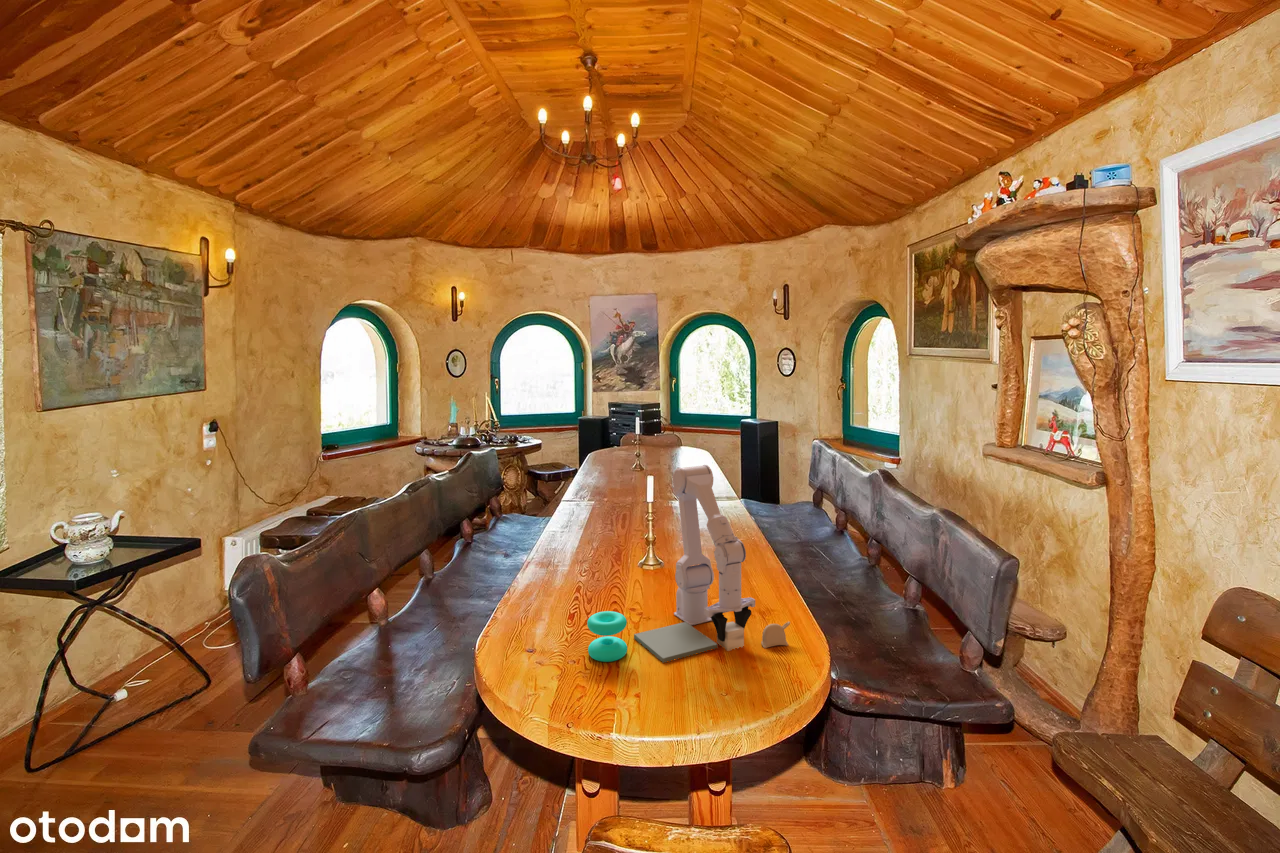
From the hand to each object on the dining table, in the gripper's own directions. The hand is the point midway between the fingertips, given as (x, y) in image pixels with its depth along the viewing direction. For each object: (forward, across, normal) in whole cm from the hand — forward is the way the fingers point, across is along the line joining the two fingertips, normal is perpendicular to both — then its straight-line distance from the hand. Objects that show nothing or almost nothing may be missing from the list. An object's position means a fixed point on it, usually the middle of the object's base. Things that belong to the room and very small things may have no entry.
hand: (730, 637), depth 175 cm
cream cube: (+2, 0, 0) cm, 2 cm away
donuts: (+2, -30, +11) cm, 32 cm away
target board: (+2, -12, +8) cm, 15 cm away
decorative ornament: (+2, +11, -5) cm, 12 cm away
